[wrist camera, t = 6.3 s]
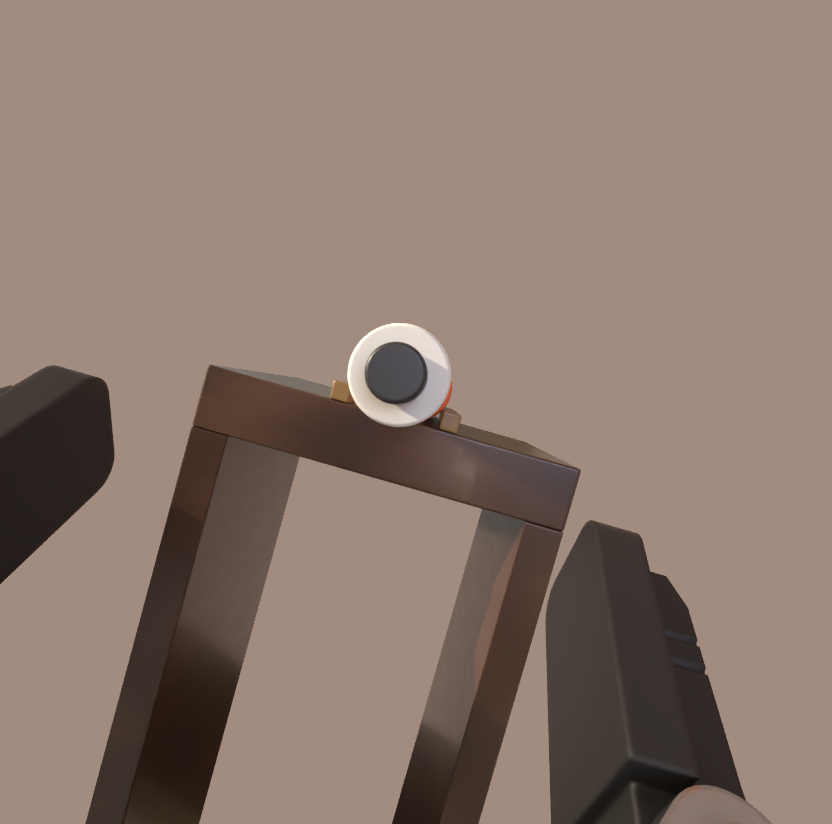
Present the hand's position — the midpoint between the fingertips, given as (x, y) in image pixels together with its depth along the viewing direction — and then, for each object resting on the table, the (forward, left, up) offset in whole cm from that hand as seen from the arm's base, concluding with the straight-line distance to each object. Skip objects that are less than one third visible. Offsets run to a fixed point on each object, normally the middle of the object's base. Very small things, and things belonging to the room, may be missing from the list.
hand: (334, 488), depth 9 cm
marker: (0, +8, +2) cm, 8 cm away
